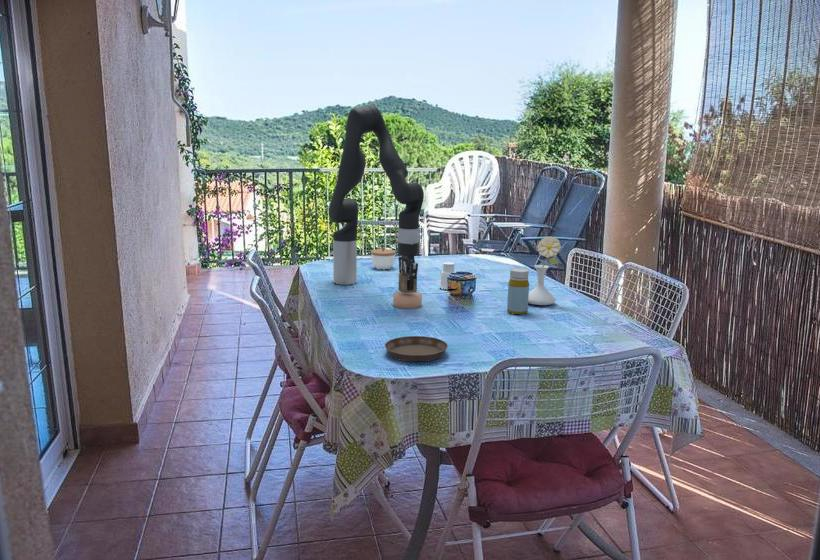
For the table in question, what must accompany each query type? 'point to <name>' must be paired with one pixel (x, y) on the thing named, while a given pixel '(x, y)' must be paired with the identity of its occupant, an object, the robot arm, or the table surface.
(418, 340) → the plant saucer
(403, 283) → the walnut block
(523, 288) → the bottle
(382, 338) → the table surface
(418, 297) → the terracotta puck
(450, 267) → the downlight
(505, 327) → the table surface
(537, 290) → the flower in vase
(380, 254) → the lidded jar
